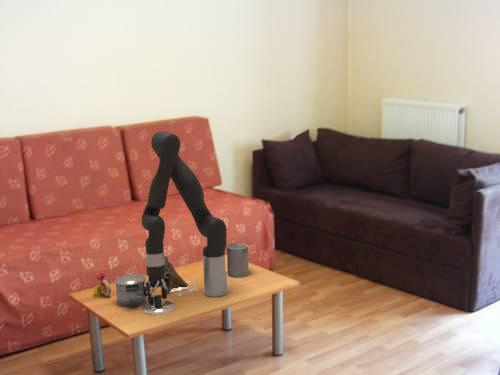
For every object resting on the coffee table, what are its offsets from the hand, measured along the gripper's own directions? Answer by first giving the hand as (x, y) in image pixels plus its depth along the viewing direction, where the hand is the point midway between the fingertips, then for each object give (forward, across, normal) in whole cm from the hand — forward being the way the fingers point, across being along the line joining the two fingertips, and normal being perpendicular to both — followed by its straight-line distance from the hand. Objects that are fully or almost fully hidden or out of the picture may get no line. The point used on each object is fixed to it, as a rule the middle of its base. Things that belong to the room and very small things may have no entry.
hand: (157, 301), depth 286 cm
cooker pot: (+3, 0, -14) cm, 14 cm away
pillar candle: (+3, -50, +6) cm, 50 cm away
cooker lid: (+3, 0, 0) cm, 3 cm away
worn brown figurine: (+3, -20, -7) cm, 21 cm away
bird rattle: (+3, 0, -30) cm, 30 cm away
